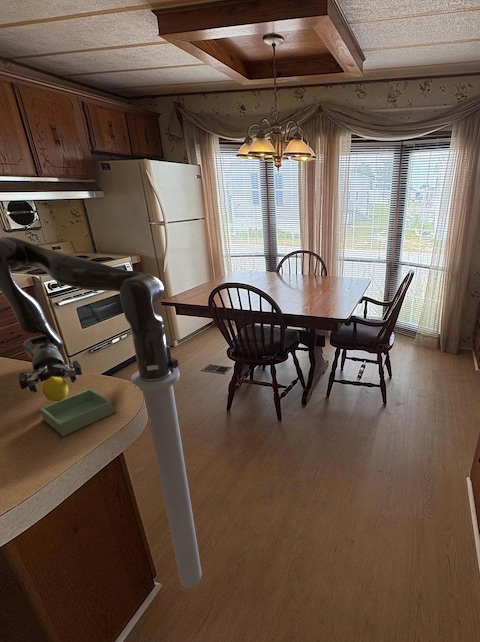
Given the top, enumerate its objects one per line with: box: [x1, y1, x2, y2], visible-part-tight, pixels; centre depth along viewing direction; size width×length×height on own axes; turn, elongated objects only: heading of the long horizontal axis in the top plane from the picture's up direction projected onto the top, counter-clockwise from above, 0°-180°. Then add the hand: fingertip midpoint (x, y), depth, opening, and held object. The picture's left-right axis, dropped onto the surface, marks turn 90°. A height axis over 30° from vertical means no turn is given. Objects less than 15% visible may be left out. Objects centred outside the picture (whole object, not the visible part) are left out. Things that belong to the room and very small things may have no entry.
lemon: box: [42, 377, 69, 402], centre depth 96 cm, size 6×6×8 cm
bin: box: [39, 388, 115, 437], centre depth 91 cm, size 12×11×4 cm
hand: (54, 384), depth 94 cm, fingers open, 8 cm apart
